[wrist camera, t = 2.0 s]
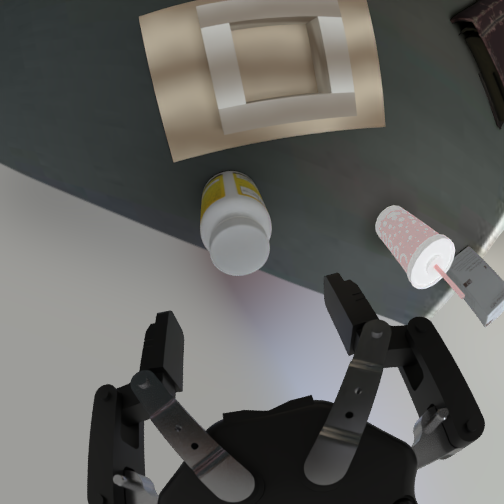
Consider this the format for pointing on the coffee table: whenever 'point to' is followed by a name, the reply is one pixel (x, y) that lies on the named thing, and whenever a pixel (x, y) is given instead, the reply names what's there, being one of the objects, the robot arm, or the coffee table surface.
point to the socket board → (261, 71)
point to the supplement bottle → (235, 224)
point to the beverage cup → (416, 247)
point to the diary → (488, 49)
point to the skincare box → (478, 285)
